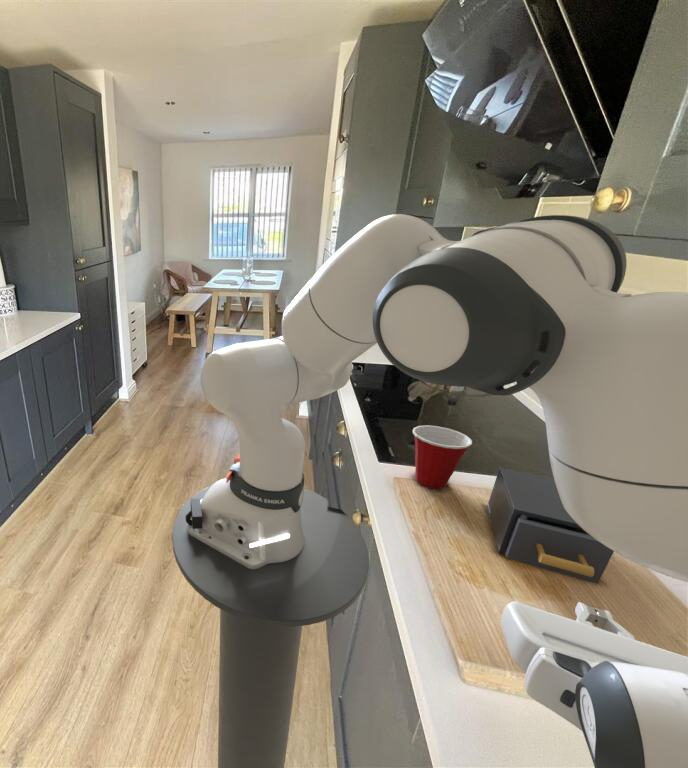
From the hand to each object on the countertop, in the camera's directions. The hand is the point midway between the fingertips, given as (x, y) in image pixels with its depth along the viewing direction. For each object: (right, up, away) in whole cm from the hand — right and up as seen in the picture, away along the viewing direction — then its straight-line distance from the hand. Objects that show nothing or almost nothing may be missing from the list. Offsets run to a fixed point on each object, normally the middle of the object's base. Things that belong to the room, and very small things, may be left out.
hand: (591, 609), depth 52 cm
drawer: (+9, +1, +16) cm, 18 cm away
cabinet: (+11, +1, +20) cm, 23 cm away
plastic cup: (+3, +8, +37) cm, 38 cm away
